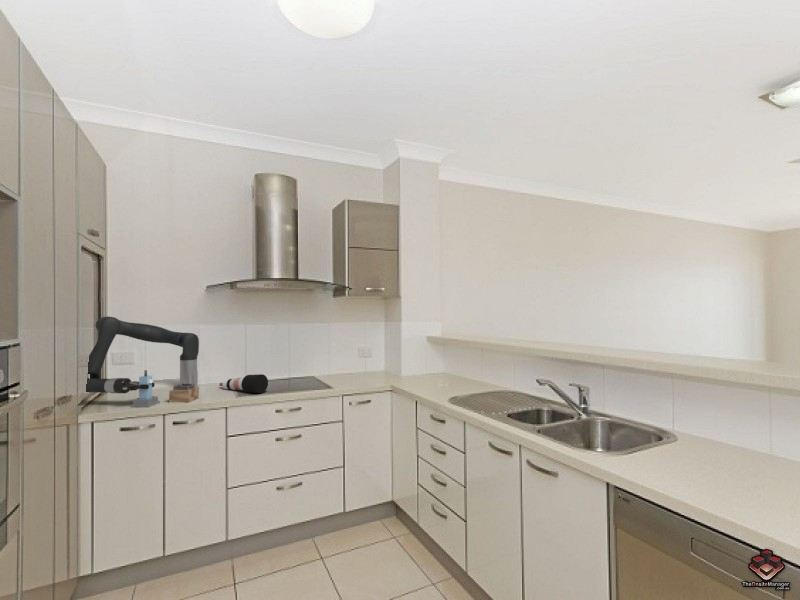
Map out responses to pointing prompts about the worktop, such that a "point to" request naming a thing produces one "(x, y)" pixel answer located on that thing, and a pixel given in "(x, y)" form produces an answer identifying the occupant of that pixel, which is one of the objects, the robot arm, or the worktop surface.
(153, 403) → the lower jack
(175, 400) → the upper stand
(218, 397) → the worktop surface
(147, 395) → the plug
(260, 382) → the black and white bottle
